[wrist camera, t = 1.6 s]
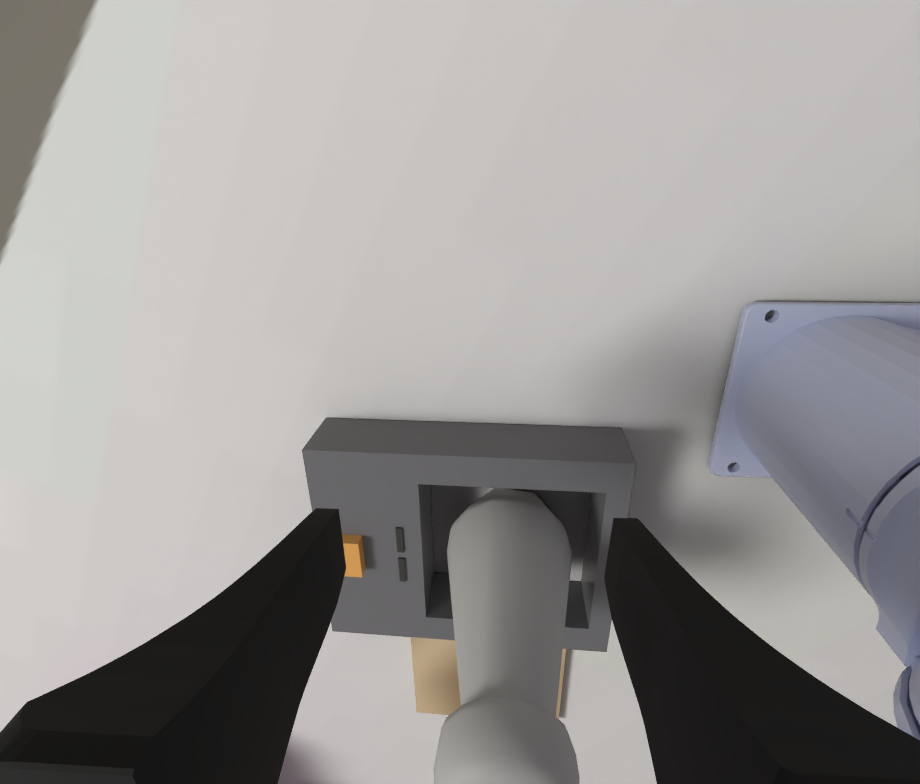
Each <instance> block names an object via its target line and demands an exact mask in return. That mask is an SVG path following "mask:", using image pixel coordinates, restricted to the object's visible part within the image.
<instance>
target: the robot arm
mask: <svg viewBox="0 0 920 784" xmlns="http://www.w3.org/2000/svg"><path fill="white" fill-rule="evenodd" d="M770 310H774V316H773V317H772V318H771V319H769V320H765V315H766V313H767V312H769V311H770ZM734 462H735V463H736V464H735V466H733V467H730V468H728V465H729V464H731V463H734ZM708 467H709V469H710V470H711V472H712V473H713V474H715V475H719V476H738V477H762V478H773V479H774V480H775V482H776V483H777V484H778V485H779V486H780V488H781V489H782V490H783V491H784V492H785V494H786V495H787V496H788V497H789V498H790V500H791V501H792V502H793V503H794V504H795V506H796V507H797V508H798V509H799V510H800V512H801V513H802V514H803V515H804V516H805V518H806V519H807V520H808V521H809V522H810V524H811V525H812V526H813V527H814V528H815V530H816V531H817V532H818V533H819V535H820V536H821V537H822V538H823V539H824V541H825V542H826V543H827V544H828V545H829V547H830V548H831V549H832V550H833V551H834V553H835V554H836V555H837V556H838V557H839V559H840V560H841V561H842V562H843V563H844V565H845V566H846V567H847V568H848V569H849V571H850V572H851V573H852V574H853V575H854V577H855V578H856V579H857V580H858V582H859V583H860V584H861V585H862V586H863V588H864V589H865V590H866V591H867V592H868V594H869V595H870V596H871V597H872V598H873V600H874V601H875V603H876V605H877V607H878V610H879V621H878V624H877V627H876V630H877V631H878V632H879V633H880V635H881V636H882V637H883V639H884V640H885V641H886V642H887V644H888V645H889V646H890V647H891V649H892V650H893V651H894V653H895V654H896V655H897V656H898V658H899V659H900V660H901V662H902V663H903V664H904V665H905V666H907V668H906V669H905V670H904V671H903V672H902V673H901V675H900V677H899V679H898V681H897V683H896V687H895V691H894V694H893V699H894V715H895V719H896V722H897V726H898V728H897V727H895V726H893V725H892V724H890V723H888V722H886V721H884V720H883V719H881V718H879V717H877V716H875V715H874V714H872V713H870V712H869V711H867V710H865V709H864V708H862V707H861V706H859V705H857V704H856V703H854V702H853V701H851V700H849V699H848V698H846V697H844V696H843V695H841V694H840V693H838V692H836V691H835V690H833V689H832V688H830V687H829V686H827V685H826V684H824V683H823V682H821V681H820V680H818V679H817V678H815V677H814V676H812V675H811V674H809V673H808V672H806V671H805V670H803V669H802V668H801V667H799V666H798V665H796V664H795V663H794V662H792V661H791V660H789V659H788V658H787V657H785V656H784V655H782V654H781V653H780V652H778V651H777V650H776V649H774V648H773V647H772V646H770V645H769V644H768V643H766V642H765V641H764V640H763V639H761V638H760V637H759V636H758V635H756V634H755V633H754V632H753V631H751V630H750V629H749V628H748V627H746V626H745V625H744V624H743V623H741V622H740V621H739V620H738V619H737V618H736V617H734V616H733V615H732V614H731V613H730V612H729V611H727V610H726V609H725V608H724V607H723V606H722V605H721V604H720V603H719V602H718V601H716V600H715V599H714V598H713V597H712V596H711V595H710V594H709V593H708V592H707V591H706V590H705V589H704V588H703V587H702V586H700V585H699V584H698V583H697V582H696V581H695V580H694V579H693V578H692V577H691V576H690V574H689V573H688V572H687V571H686V570H685V569H684V568H683V567H682V566H681V565H680V564H679V563H678V562H677V561H676V560H675V559H674V558H673V557H672V556H671V555H670V554H669V552H668V551H667V550H666V549H665V548H664V547H663V546H662V545H661V544H660V543H659V542H658V540H657V539H656V538H655V537H654V536H653V535H652V534H651V533H650V532H649V531H648V529H647V528H646V527H645V526H644V525H643V524H642V523H641V522H640V521H639V520H638V519H636V518H613V524H612V530H611V537H610V543H609V549H608V556H607V562H606V568H605V575H604V580H605V586H606V592H607V597H608V603H609V608H610V613H611V617H612V620H613V624H614V627H615V630H616V634H617V637H618V640H619V643H620V646H621V650H622V653H623V656H624V659H625V662H626V665H627V668H628V672H629V675H630V678H631V681H632V684H633V687H634V690H635V694H636V697H637V700H638V703H639V707H640V710H641V714H642V718H643V721H644V725H645V729H646V734H647V739H648V743H649V748H650V752H651V757H652V762H653V766H654V771H655V776H656V781H657V784H920V303H850V302H752V303H750V304H749V305H747V306H746V307H745V308H744V309H743V312H742V314H741V319H740V323H739V327H738V332H737V336H736V341H735V345H734V349H733V354H732V358H731V363H730V367H729V371H728V376H727V380H726V385H725V389H724V393H723V398H722V402H721V407H720V411H719V415H718V420H717V424H716V429H715V433H714V437H713V442H712V446H711V451H710V455H709V459H708ZM345 571H346V562H345V554H344V546H343V538H342V530H341V523H340V515H339V509H327V508H316V509H315V510H314V511H313V512H312V513H310V514H309V515H308V516H307V517H306V518H305V519H304V520H303V521H302V522H301V523H300V524H299V525H298V526H297V527H296V528H295V529H294V530H292V531H291V532H290V533H289V534H288V535H287V536H286V537H285V538H284V539H283V540H282V541H281V542H280V543H279V544H278V545H277V546H275V547H274V548H273V549H272V550H271V551H270V552H269V553H268V554H267V555H266V556H264V557H263V558H262V559H261V560H260V561H259V562H258V563H257V564H256V565H254V566H253V567H252V568H251V569H250V570H248V571H247V572H246V573H245V574H244V575H242V576H241V577H240V578H239V579H238V580H236V581H235V582H234V583H233V584H232V585H230V586H229V587H228V588H227V589H225V590H224V591H223V592H221V593H220V594H219V595H217V596H216V597H215V598H213V599H212V600H211V601H209V602H208V603H206V604H205V605H203V606H202V607H201V608H199V609H198V610H196V611H195V612H194V613H192V614H191V615H189V616H188V617H186V618H185V619H183V620H181V621H180V622H178V623H177V624H175V625H173V626H172V627H170V628H169V629H167V630H165V631H164V632H162V633H161V634H159V635H157V636H156V637H154V638H153V639H151V640H149V641H148V642H146V643H144V644H143V645H141V646H139V647H137V648H136V649H134V650H132V651H130V652H128V653H127V654H125V655H123V656H121V657H119V658H117V659H116V660H114V661H112V662H110V663H108V664H106V665H104V666H102V667H100V668H99V669H97V670H95V671H93V672H91V673H89V674H87V675H85V676H83V677H80V678H78V679H76V680H74V681H72V682H70V683H68V684H65V685H63V686H61V687H59V688H57V689H55V690H53V691H50V692H48V693H46V694H44V695H42V696H40V697H38V698H35V699H33V700H31V701H28V702H27V703H26V704H25V705H24V706H23V707H22V708H21V709H20V710H19V712H18V713H17V714H16V715H15V716H14V717H13V719H12V720H11V721H10V722H9V723H8V724H7V725H6V727H5V728H4V729H3V730H2V731H1V732H0V784H277V783H278V780H279V776H280V772H281V768H282V765H283V761H284V757H285V753H286V750H287V746H288V743H289V739H290V735H291V732H292V728H293V725H294V721H295V718H296V714H297V711H298V707H299V704H300V701H301V698H302V696H303V693H304V690H305V687H306V684H307V682H308V679H309V676H310V674H311V671H312V669H313V666H314V664H315V661H316V658H317V656H318V653H319V651H320V648H321V646H322V643H323V640H324V638H325V635H326V633H327V630H328V627H329V625H330V622H331V620H332V617H333V614H334V612H335V609H336V606H337V603H338V599H339V595H340V592H341V588H342V584H343V580H344V575H345Z"/></svg>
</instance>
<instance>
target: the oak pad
mask: <svg viewBox="0 0 920 784" xmlns="http://www.w3.org/2000/svg"><path fill="white" fill-rule="evenodd" d="M411 645H412V658H413V670H414V683H415V696H416V709H417V712H421V713H432V714H443V715H451V714H452V713H453V712H454V711H455V710H457V709H458V708H459V707H460V706H461V702H460V691H459V680H458V669H457V658H456V647H455V640H443V639H429V638H416V637H411ZM565 656H566V649H563V650H562V660H561V670H560V680H559V690H558V700H557V710H556V718H557V719H559V711H560V702H561V693H562V684H563V674H564V665H565Z"/></svg>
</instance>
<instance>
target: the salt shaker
mask: <svg viewBox="0 0 920 784" xmlns="http://www.w3.org/2000/svg"><path fill="white" fill-rule="evenodd" d="M447 558H448V570H449V581H450V592H451V603H452V614H453V625H454V636H455V647H456V658H457V669H458V680H459V691H460V702H461V706H460V707H459V708H458V709H457V710H455V711H454V712H453V713H452V714H451V715H449V716H448V717H447V718H446V720H445V722H444V724H443V726H442V728H441V733H440V738H439V743H438V748H437V753H436V759H435V764H434V784H579V772H578V766H577V759H576V754H575V751H574V748H573V745H572V743H571V740H570V737H569V734H568V732H567V730H566V727H565V725H564V724H563V723H562V722H561V721H560V720H559V719H557V718H556V710H557V700H558V690H559V680H560V670H561V660H562V650H563V640H564V630H565V620H566V610H567V600H568V590H569V580H570V570H571V560H572V550H571V547H570V544H569V540H568V537H567V534H566V530H565V528H564V525H563V524H562V522H561V521H560V520H559V519H558V518H557V517H556V516H555V515H554V514H553V513H552V512H551V511H550V510H549V509H548V508H547V507H546V506H545V504H544V503H543V502H542V501H541V500H540V499H539V498H538V497H537V496H536V494H535V493H534V492H528V491H523V490H517V489H509V488H494V489H493V490H491V491H490V492H489V493H487V494H486V495H484V496H483V497H481V498H480V499H478V500H477V501H475V502H474V503H473V504H471V505H470V506H469V507H468V508H467V509H466V510H465V511H464V512H463V513H462V514H461V515H460V516H459V517H458V519H457V520H456V521H455V522H454V523H453V525H452V527H451V530H450V535H449V541H448V547H447Z"/></svg>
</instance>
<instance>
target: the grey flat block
mask: <svg viewBox="0 0 920 784" xmlns="http://www.w3.org/2000/svg"><path fill="white" fill-rule="evenodd" d="M302 453H303V459H304V465H305V471H306V477H307V483H308V488H309V494H310V500H311V506H312V512H313V511H314V510H315V509H316V508H327V509H339V515H340V523H341V530H342V538H343V546H344V554H345V562H346V571H345V575H344V580H343V584H342V588H341V592H340V595H339V599H338V603H337V606H336V609H335V612H334V614H333V617H332V620H331V624H332V630H333V631H338V632H351V633H364V634H377V635H390V636H403V637H416V638H429V639H443V640H455V636H454V625H453V614H452V603H451V592H450V581H449V574H447V573H435V571H434V549H433V527H432V506H431V485H445V486H466V487H488V488H509V489H531V490H553V491H574V492H592V493H591V501H590V510H589V519H588V527H587V536H586V544H585V553H584V562H583V570H582V579H581V582H573V581H569V590H568V600H567V610H566V620H565V630H564V640H563V649H574V650H587V651H600V652H607V645H608V639H609V633H610V626H611V620H612V617H611V613H610V608H609V603H608V597H607V592H606V586H605V580H604V575H605V568H606V562H607V556H608V549H609V543H610V537H611V530H612V524H613V518H628V511H629V505H630V499H631V492H632V486H633V480H634V473H635V467H636V462H635V460H634V457H633V455H632V453H631V450H630V448H629V445H628V443H627V440H626V438H625V436H624V433H623V431H622V428H607V427H577V426H548V425H519V424H489V423H460V422H431V421H401V420H372V419H342V418H325V420H324V421H323V422H322V424H321V425H320V426H319V428H318V429H317V431H316V432H315V433H314V435H313V436H312V437H311V439H310V440H309V441H308V443H307V444H306V445H305V447H304V448H303V449H302Z"/></svg>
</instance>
